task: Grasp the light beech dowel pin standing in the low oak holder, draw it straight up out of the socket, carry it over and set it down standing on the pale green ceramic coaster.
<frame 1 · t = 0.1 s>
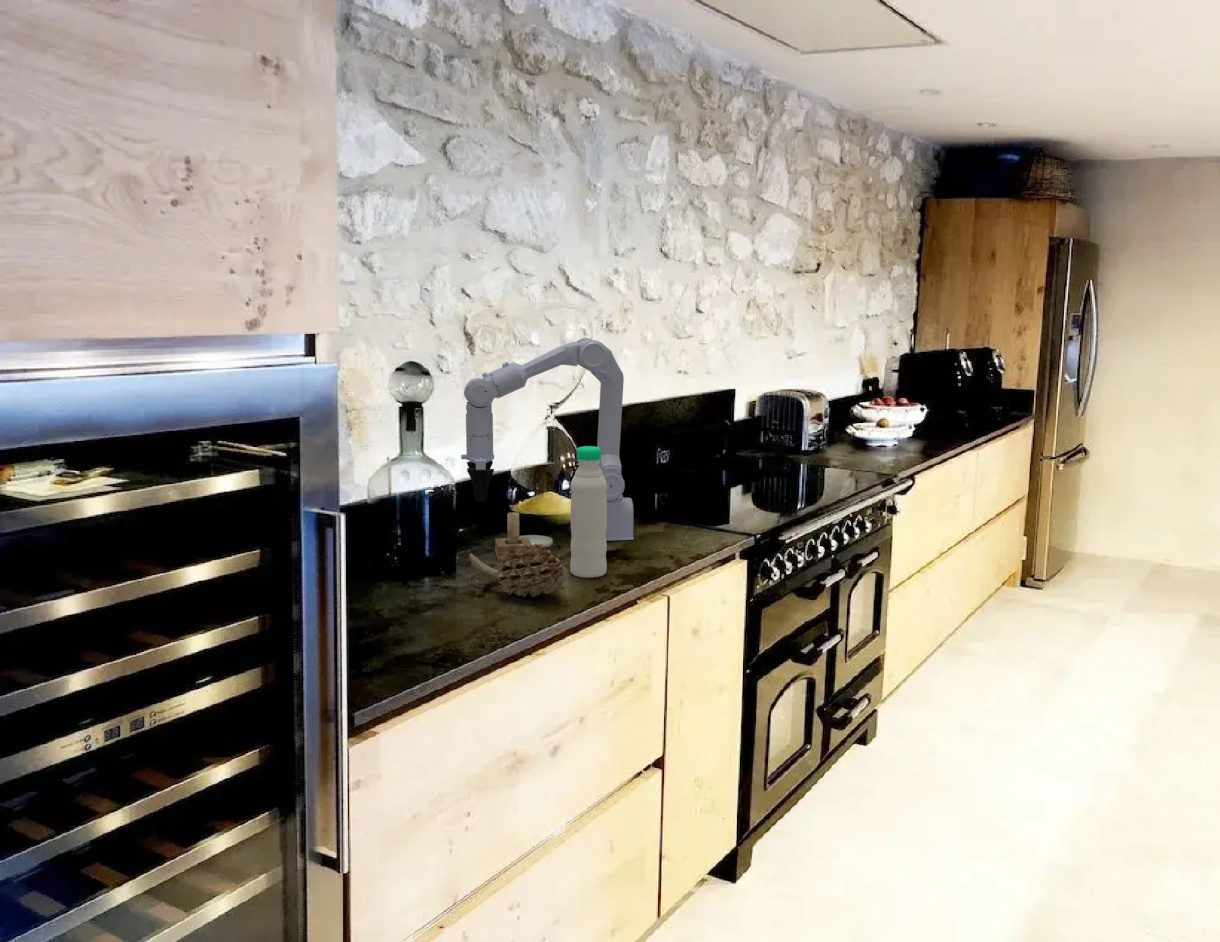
hand: (480, 497, 234), 10 cm above the counter, tool pointing down, fingers open, 7 cm apart
pine cone: (512, 594, 198), on the counter
coaster: (531, 543, 236), on the counter
holder: (513, 556, 225), on the counter
water bottle: (588, 574, 212), on the counter
pin: (513, 534, 224), in the holder
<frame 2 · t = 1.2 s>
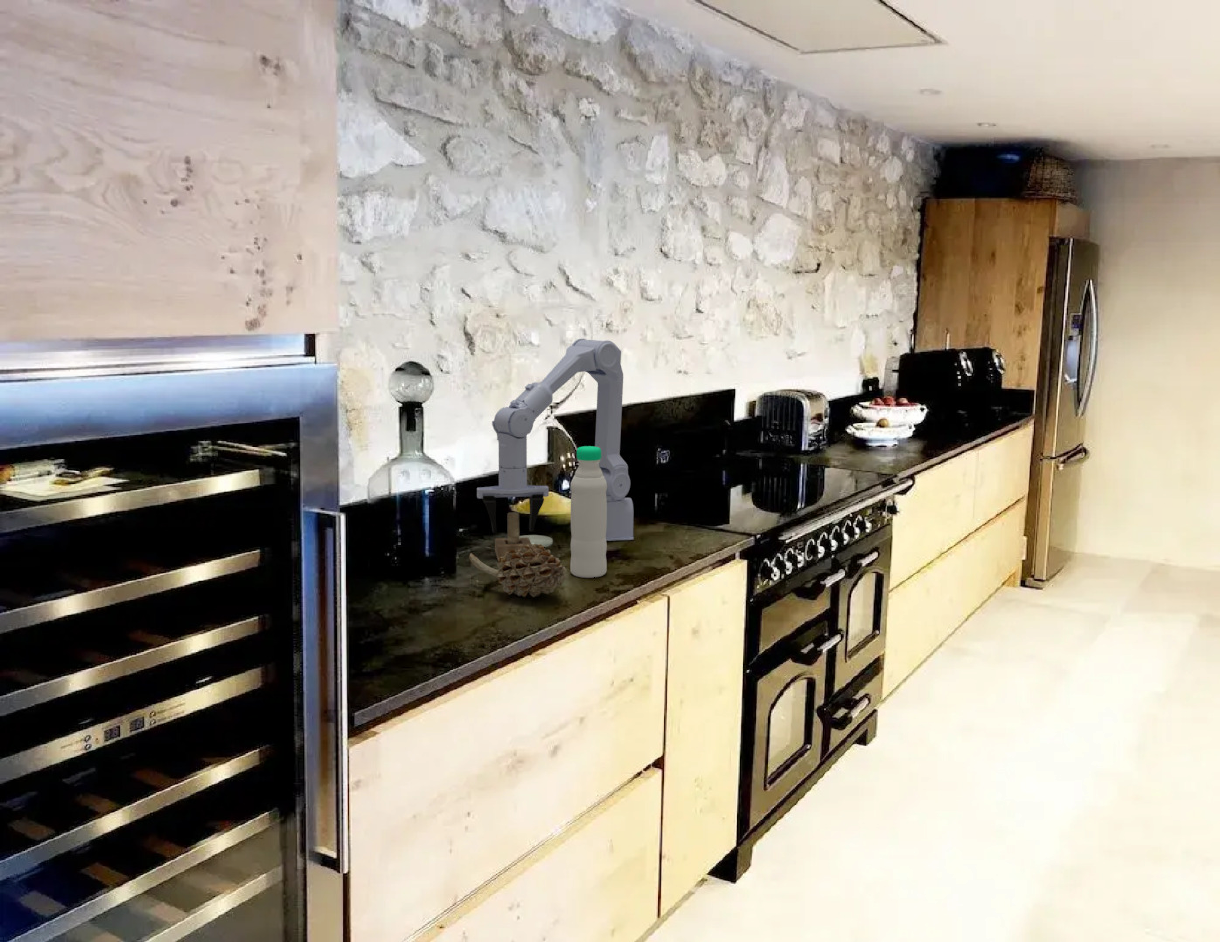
hand: (513, 531, 224), 5 cm above the counter, tool pointing down, fingers open, 7 cm apart
nothing on the counter moved.
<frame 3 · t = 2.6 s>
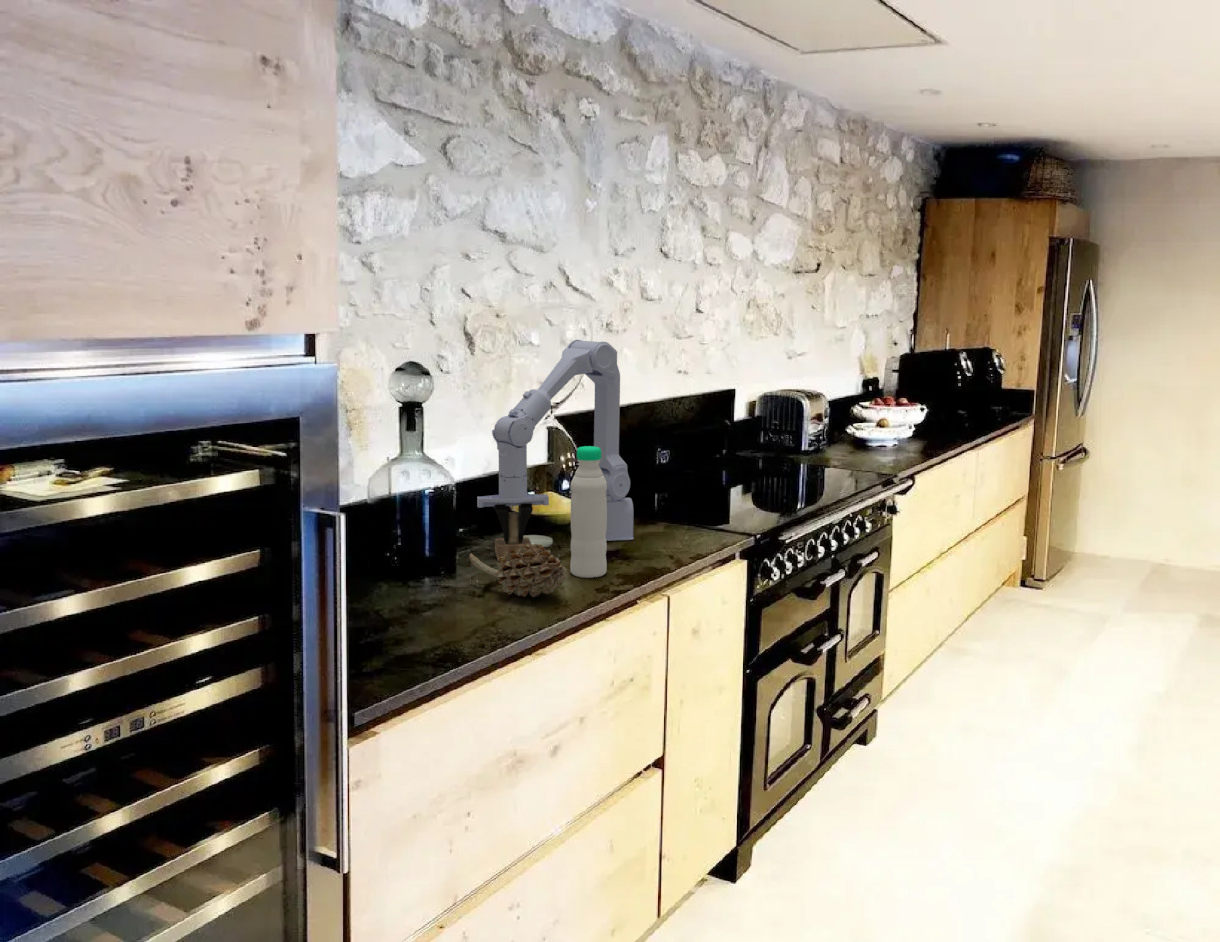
hand: (513, 540, 224), 3 cm above the counter, tool pointing down, fingers closed on pin, 2 cm apart
pin: (513, 534, 224), in the holder, touching gripper
everything else where it was.
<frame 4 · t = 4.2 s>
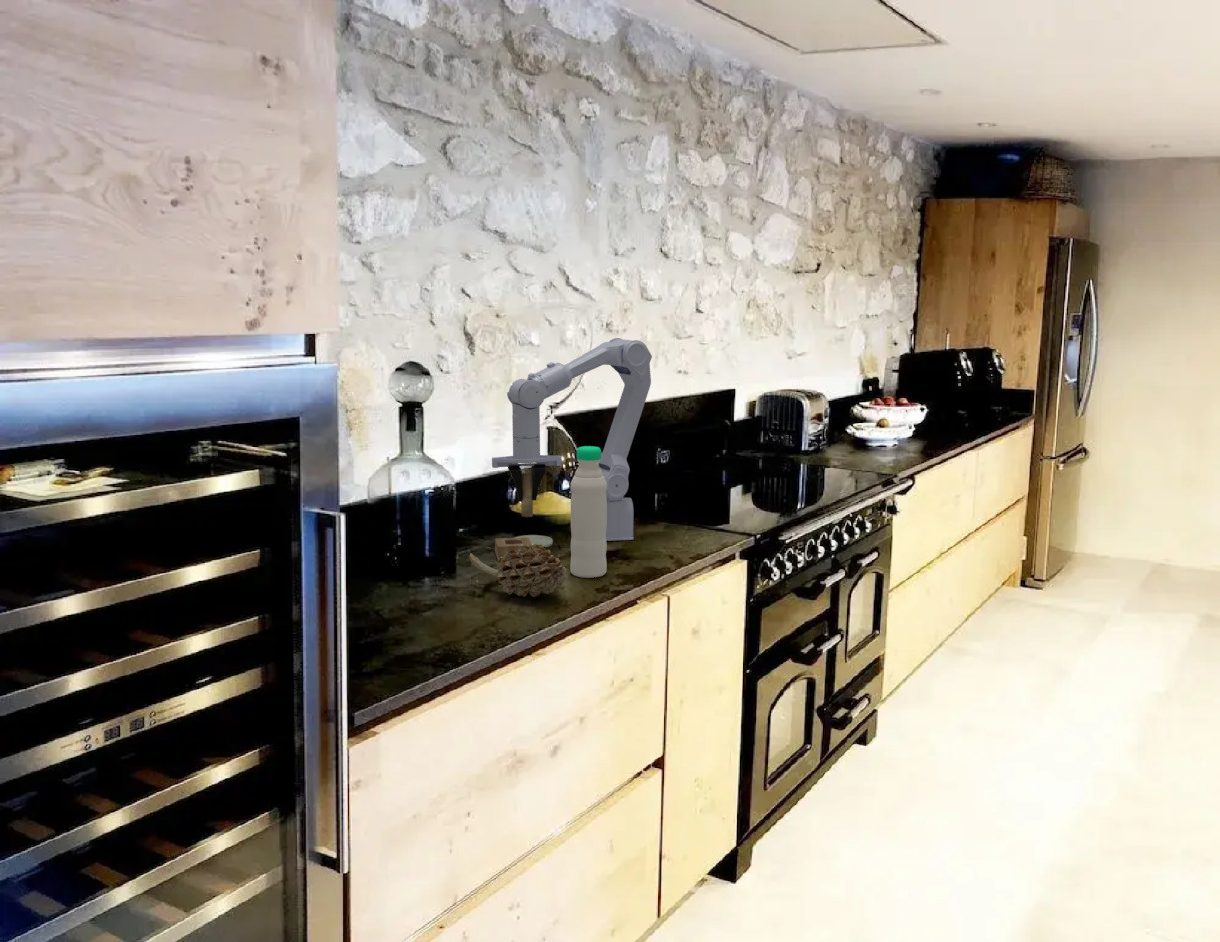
hand: (527, 499, 231), 10 cm above the counter, tool pointing down, fingers closed on pin, 2 cm apart
pin: (527, 494, 231), point 11 cm above the counter, touching gripper
everything else where it was.
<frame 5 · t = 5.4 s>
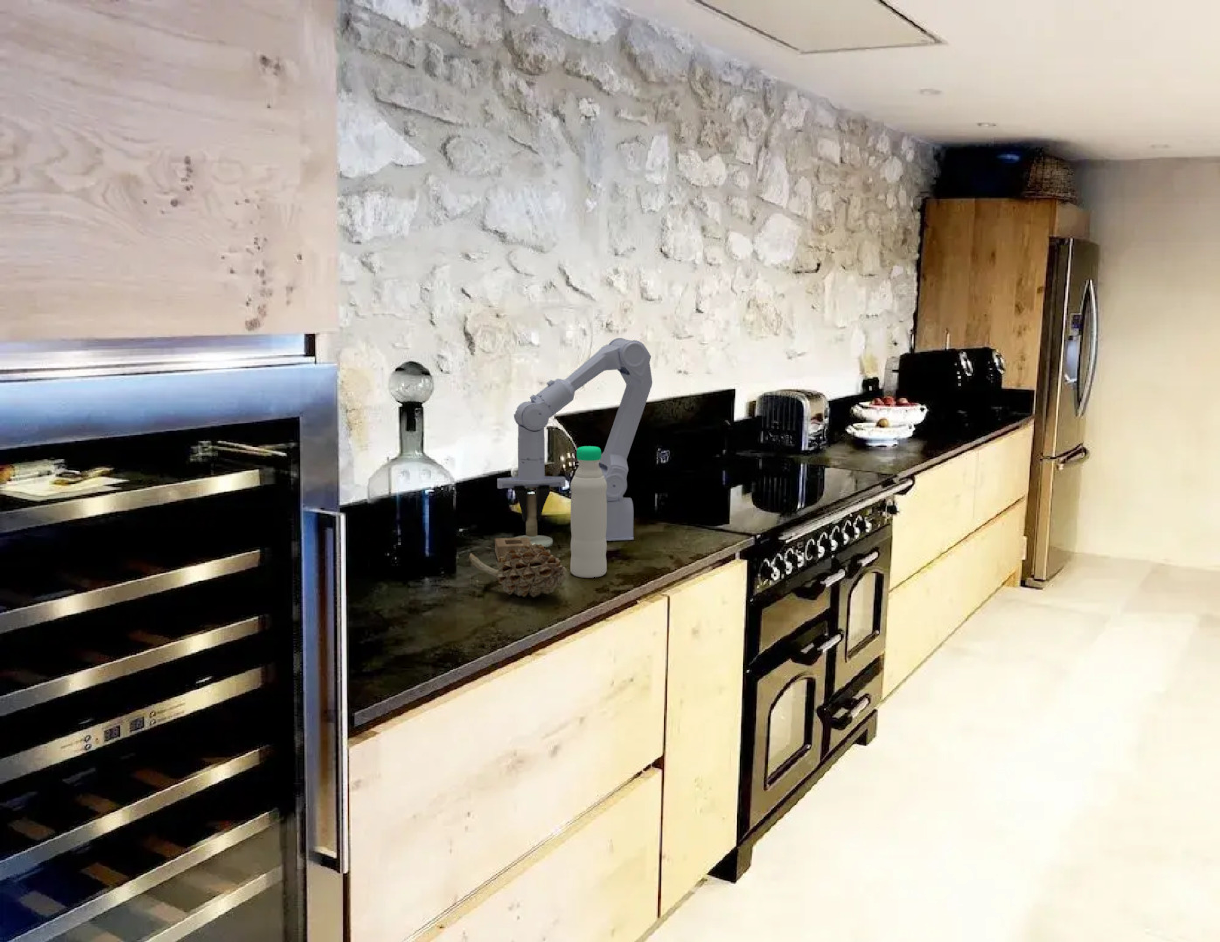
hand: (531, 520, 235), 5 cm above the counter, tool pointing down, fingers closed on pin, 2 cm apart
pin: (531, 515, 235), point 6 cm above the counter, touching gripper
everything else where it was.
when the fingers open (5 cm above the counter, at t = 6.1 s): pin stays where it is, resting on coaster.
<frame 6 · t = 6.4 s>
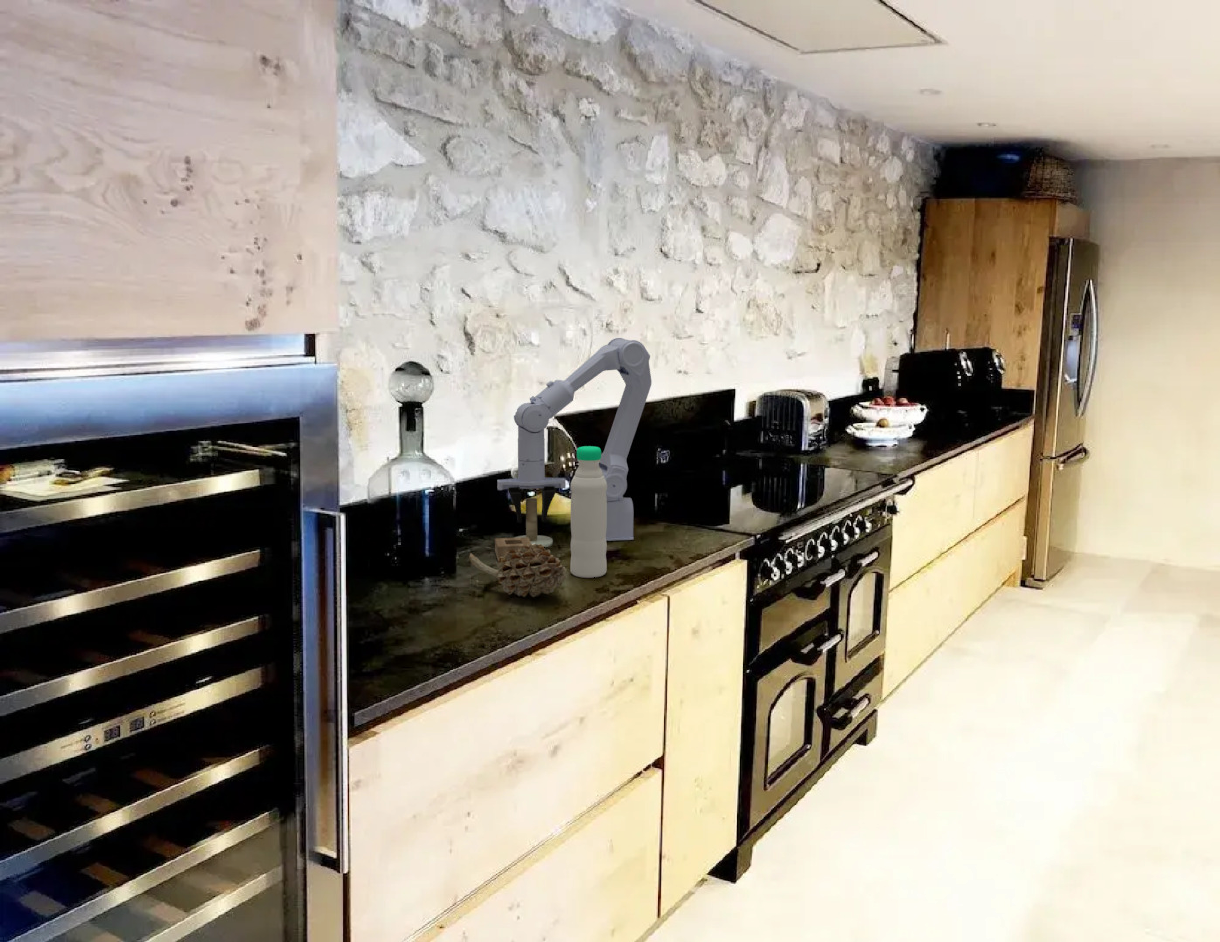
hand: (531, 521, 235), 5 cm above the counter, tool pointing down, fingers open, 5 cm apart
pin: (531, 519, 235), on the coaster, point 5 cm above the counter
everything else where it was.
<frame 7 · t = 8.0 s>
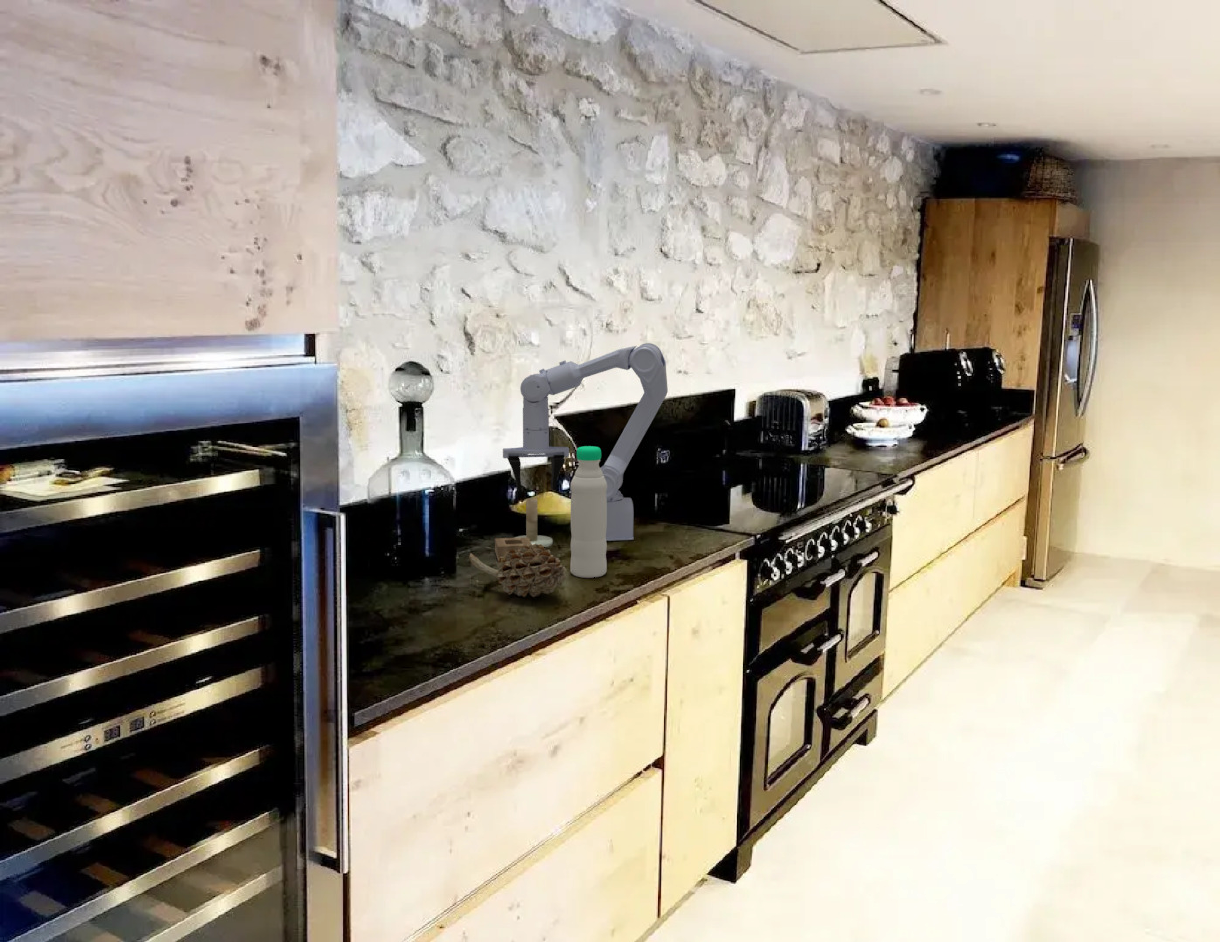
hand: (536, 489, 242), 10 cm above the counter, tool pointing down, fingers open, 7 cm apart
nothing on the counter moved.
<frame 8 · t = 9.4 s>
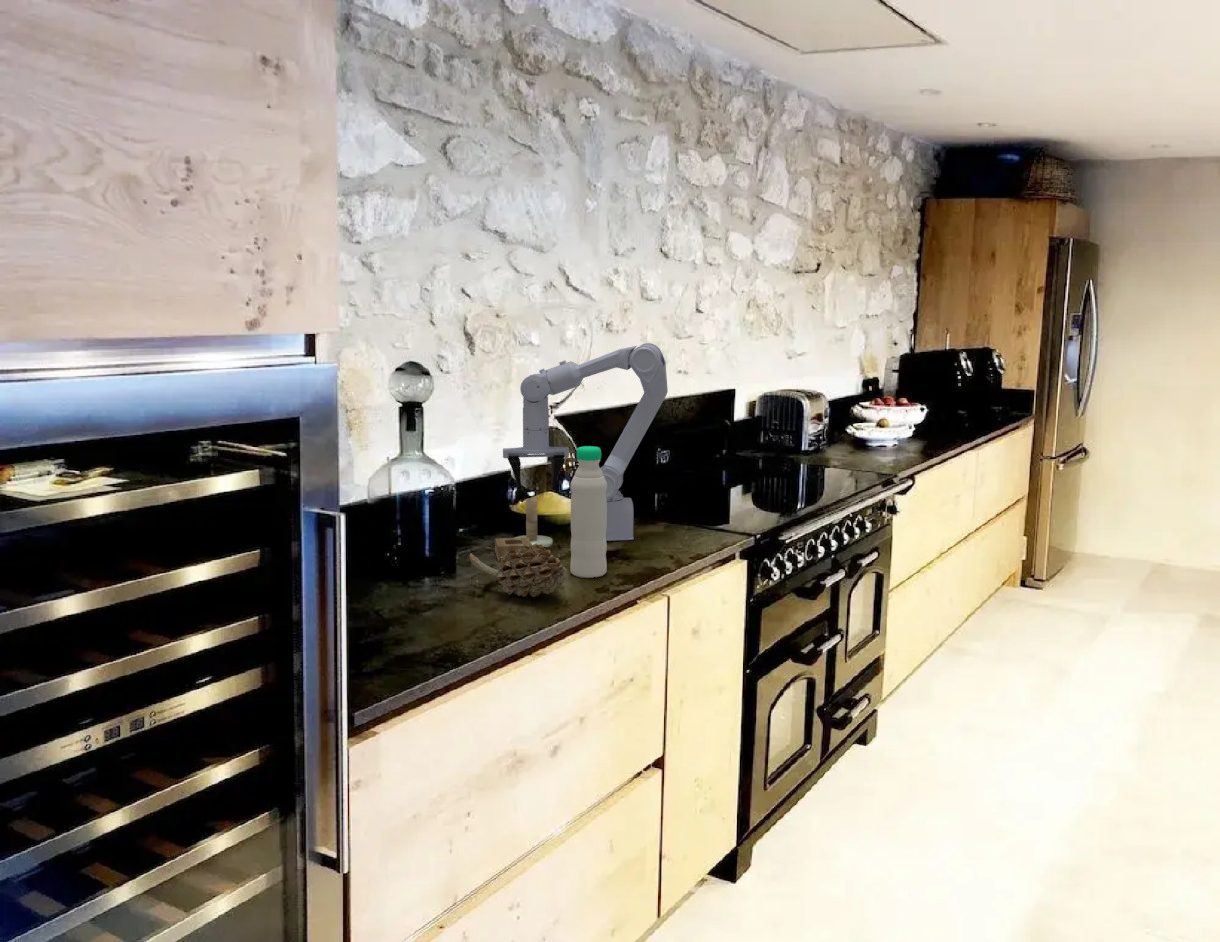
hand: (536, 489, 242), 10 cm above the counter, tool pointing down, fingers open, 7 cm apart
nothing on the counter moved.
at the end: pin inside the target area on the coaster (0.0 cm from its centre), point 5.3 cm above the coaster's base; pin tilted 0°; the gripper is holding nothing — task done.
